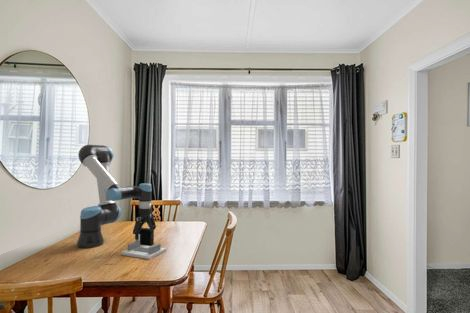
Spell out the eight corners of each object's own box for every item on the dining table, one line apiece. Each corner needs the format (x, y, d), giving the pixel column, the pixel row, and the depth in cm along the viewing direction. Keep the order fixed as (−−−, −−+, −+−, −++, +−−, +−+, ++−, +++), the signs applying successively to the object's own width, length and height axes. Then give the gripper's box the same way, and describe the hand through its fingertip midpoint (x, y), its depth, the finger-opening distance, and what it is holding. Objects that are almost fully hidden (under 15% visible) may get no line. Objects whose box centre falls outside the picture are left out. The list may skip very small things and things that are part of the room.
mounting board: (120, 254, 156) (121, 245, 156) (139, 246, 170) (139, 238, 170) (149, 259, 148) (149, 249, 149) (166, 250, 162) (166, 242, 162)
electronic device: (150, 246, 171) (150, 230, 172) (135, 245, 173) (136, 229, 174) (153, 244, 176) (153, 228, 176) (139, 243, 178) (139, 227, 178)
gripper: (136, 211, 162) (135, 248, 162) (161, 205, 185) (161, 238, 184) (126, 210, 165) (125, 246, 164) (152, 205, 187) (152, 237, 187)
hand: (144, 242), depth 174 cm, fingers open, 12 cm apart
